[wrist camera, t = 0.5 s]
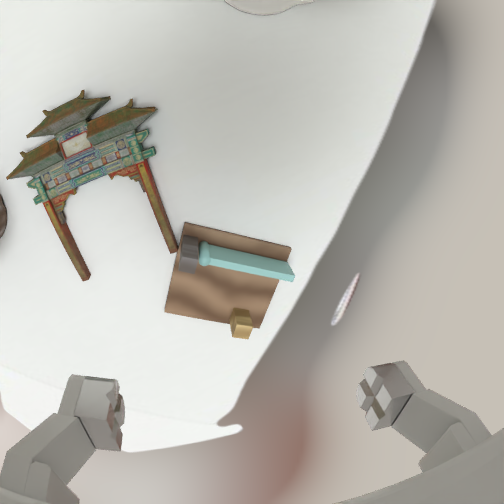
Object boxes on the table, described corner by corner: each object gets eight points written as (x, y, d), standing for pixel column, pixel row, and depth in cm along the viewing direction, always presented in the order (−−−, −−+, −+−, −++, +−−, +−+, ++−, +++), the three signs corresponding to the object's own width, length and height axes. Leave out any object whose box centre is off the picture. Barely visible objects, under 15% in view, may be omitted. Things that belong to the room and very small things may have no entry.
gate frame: (184, 222, 51) (182, 244, 43) (290, 247, 56) (305, 271, 48) (164, 309, 58) (161, 340, 50) (258, 326, 63) (267, 356, 55)
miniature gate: (64, 292, 49) (-8, 140, 33) (72, 275, 54) (8, 133, 38) (201, 249, 50) (140, 63, 34) (200, 234, 55) (146, 66, 39)
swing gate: (199, 240, 52) (200, 254, 47) (287, 260, 56) (296, 274, 51) (197, 249, 52) (197, 264, 48) (284, 268, 57) (292, 284, 52)
